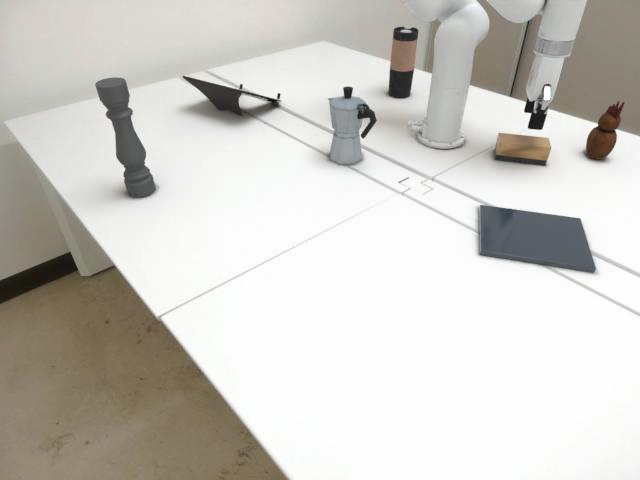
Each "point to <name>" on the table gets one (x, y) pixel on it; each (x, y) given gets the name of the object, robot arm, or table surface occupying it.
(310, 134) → the table surface
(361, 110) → the coffee maker
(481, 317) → the table surface
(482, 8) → the robot arm
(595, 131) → the wooden figurine
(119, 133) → the candle holder
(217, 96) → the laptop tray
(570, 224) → the slate board
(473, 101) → the table surface
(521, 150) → the scrub brush
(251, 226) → the table surface
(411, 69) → the travel mug
